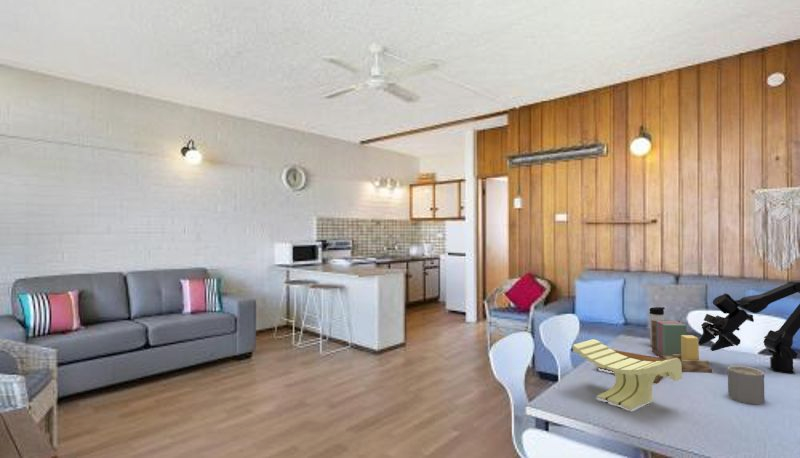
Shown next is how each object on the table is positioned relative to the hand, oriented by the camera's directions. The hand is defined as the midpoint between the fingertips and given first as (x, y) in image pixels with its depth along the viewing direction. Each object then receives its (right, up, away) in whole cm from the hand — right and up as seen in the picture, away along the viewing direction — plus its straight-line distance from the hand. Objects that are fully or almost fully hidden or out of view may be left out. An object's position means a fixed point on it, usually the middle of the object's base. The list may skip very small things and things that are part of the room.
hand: (705, 347), depth 181 cm
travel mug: (0, -9, +33) cm, 34 cm away
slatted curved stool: (-50, -11, -30) cm, 59 cm away
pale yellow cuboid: (-6, -8, +1) cm, 10 cm away
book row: (-3, -8, +18) cm, 19 cm away
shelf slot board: (-4, -9, +10) cm, 14 cm away
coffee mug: (-6, -10, -30) cm, 32 cm away
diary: (-31, -11, 0) cm, 33 cm away
